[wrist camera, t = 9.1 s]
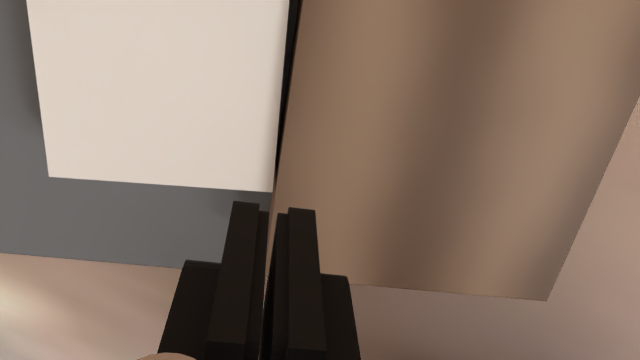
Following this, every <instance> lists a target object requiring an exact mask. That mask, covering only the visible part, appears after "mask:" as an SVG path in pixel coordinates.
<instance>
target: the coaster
mask: <svg viewBox="0 0 640 360" xmlns="http://www.w3.org/2000/svg"><path fill="white" fill-rule="evenodd" d="M26 2H27V10H28V18H29V25H30V33H31V41H32V49H33V57H34V64H35V72H36V80H37V88H38V96H39V103H40V111H41V119H42V127H43V134H44V142H45V150H46V158H47V166H48V173H49V177H59V178H74V179H88V180H102V181H117V182H131V183H145V184H160V185H174V186H188V187H203V188H217V189H231V190H246V191H260V192H273V180H274V169H275V157H276V146H277V135H278V123H279V112H280V101H281V89H282V78H283V66H284V55H285V44H286V32H287V21H288V10H289V0H26Z"/></svg>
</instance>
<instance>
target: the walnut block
mask: <svg viewBox="0 0 640 360" xmlns="http://www.w3.org/2000/svg"><path fill="white" fill-rule="evenodd" d="M639 96H640V0H299V2H298V9H297V16H296V23H295V30H294V38H293V45H292V52H291V59H290V66H289V74H288V81H287V88H286V95H285V102H284V110H283V117H282V124H281V131H280V138H279V146H278V153H277V160H276V167H275V174H274V182H273V192H272V196H271V203H270V210H269V226H268V240H267V255H266V269H265V277H268V274H269V267H270V260H271V253H272V247H273V240H274V233H275V226H276V219H277V214H278V213H285V214H287V212H288V208H289V207H294V208H302V209H311V210H315V213H316V226H317V238H318V250H319V262H320V273H323V274H333V275H343V276H347V277H348V281H349V284H356V285H367V286H379V287H390V288H401V289H413V290H424V291H436V292H447V293H458V294H470V295H481V296H493V297H504V298H515V299H527V300H538V301H547V299H548V297H549V294H550V292H551V290H552V288H553V286H554V283H555V281H556V279H557V277H558V275H559V272H560V270H561V268H562V266H563V264H564V261H565V259H566V257H567V255H568V252H569V250H570V248H571V246H572V244H573V241H574V239H575V237H576V235H577V233H578V230H579V228H580V226H581V224H582V222H583V219H584V217H585V215H586V213H587V211H588V208H589V206H590V204H591V202H592V200H593V197H594V195H595V193H596V191H597V188H598V186H599V184H600V182H601V180H602V177H603V175H604V173H605V171H606V169H607V166H608V164H609V162H610V160H611V158H612V155H613V153H614V151H615V149H616V147H617V144H618V142H619V140H620V138H621V135H622V133H623V131H624V129H625V127H626V124H627V122H628V120H629V118H630V116H631V113H632V111H633V109H634V107H635V105H636V102H637V100H638V98H639Z"/></svg>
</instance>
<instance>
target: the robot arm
mask: <svg viewBox="0 0 640 360" xmlns="http://www.w3.org/2000/svg"><path fill="white" fill-rule="evenodd" d="M259 207H260V204H259V203H251V202H242V201H233V205H232V210H231V215H230V220H229V225H228V231H227V236H226V241H225V246H224V251H223V256H222V261H221V263H216V262H207V261H197V260H187V259H186V260H185V262H184V265H183V268H182V272H181V275H180V278H179V282H178V285H177V288H176V292H175V295H174V299H173V302H172V305H171V309H170V312H169V315H168V319H167V322H166V325H165V329H164V332H163V335H162V339H161V342H160V345H159V349H158V352H157V354H152V355H148V356H146V357H143V358H140V359H138V360H258V357H259V360H361V357H360V351H359V344H358V338H357V332H356V325H355V319H354V312H353V306H352V299H351V293H350V287H349V281H348V277H347V276H343V275H333V274H323V273H320V262H319V250H318V238H317V226H316V213H315V210H311V209H302V208H294V207H289V208H288V212H287V214H285V213H278V214H277V219H276V226H275V233H274V240H273V247H272V253H271V260H270V267H269V274H268V281H267V288H266V295H265V301H264V308H263V299H264V284H265V269H266V255H267V240H268V226H269V212H268V211H259ZM262 313H263V315H262Z"/></svg>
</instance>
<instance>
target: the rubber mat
mask: <svg viewBox="0 0 640 360" xmlns="http://www.w3.org/2000/svg"><path fill="white" fill-rule="evenodd" d="M298 2H299V0H289V10H288V21H287V32H286V44H285V55H284V66H283V78H282V89H281V101H280V112H279V123H278V135H277V146H276V157H275V167H276V160H277V153H278V146H279V138H280V131H281V124H282V117H283V110H284V102H285V95H286V88H287V81H288V74H289V66H290V59H291V52H292V45H293V38H294V30H295V23H296V16H297V9H298ZM274 174H275V169H274ZM273 182H274V180H273ZM271 196H272V192H260V191H246V190H231V189H217V188H203V187H188V186H174V185H160V184H145V183H131V182H117V181H102V180H88V179H74V178H59V177H49V173H48V166H47V158H46V150H45V142H44V134H43V127H42V119H41V111H40V103H39V96H38V88H37V80H36V72H35V64H34V57H33V49H32V41H31V33H30V25H29V18H28V10H27V2H26V0H0V253H8V254H20V255H31V256H42V257H54V258H65V259H77V260H88V261H99V262H111V263H122V264H134V265H145V266H156V267H168V268H179V269H182V268H183V265H184V262H185V260H186V259H187V260H197V261H207V262H216V263H221V261H222V256H223V251H224V246H225V241H226V236H227V231H228V225H229V220H230V215H231V210H232V205H233V201H242V202H251V203H259V204H260V207H259V211H268V212H269V210H270V203H271Z"/></svg>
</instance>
